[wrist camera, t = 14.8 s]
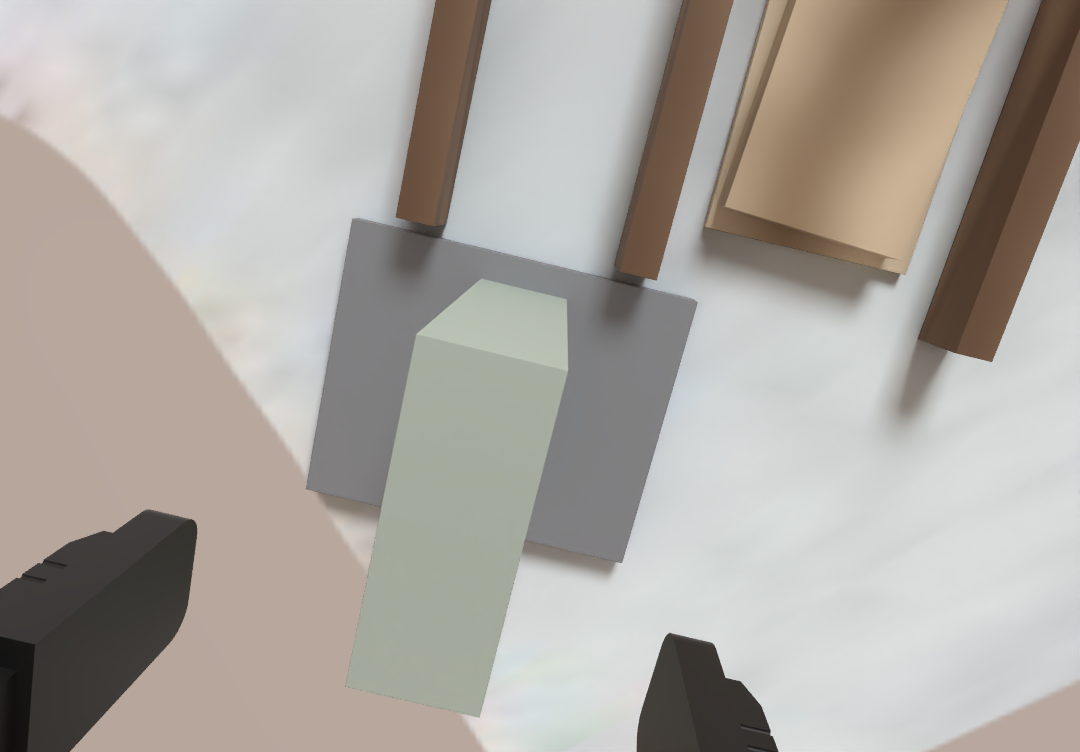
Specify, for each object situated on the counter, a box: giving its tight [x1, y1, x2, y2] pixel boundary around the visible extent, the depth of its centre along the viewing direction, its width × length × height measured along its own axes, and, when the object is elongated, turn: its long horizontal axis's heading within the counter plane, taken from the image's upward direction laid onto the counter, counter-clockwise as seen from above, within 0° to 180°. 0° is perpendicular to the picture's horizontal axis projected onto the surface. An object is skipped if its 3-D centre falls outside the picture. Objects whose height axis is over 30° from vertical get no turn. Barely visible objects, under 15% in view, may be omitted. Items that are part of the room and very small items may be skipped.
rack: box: [396, 0, 1080, 362], centre depth 22 cm, size 19×13×2 cm
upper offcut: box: [717, 0, 1009, 261], centre depth 23 cm, size 6×8×1 cm
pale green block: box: [345, 279, 568, 718], centre depth 20 cm, size 3×8×11 cm, turn 166°
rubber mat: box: [306, 218, 698, 563], centre depth 26 cm, size 12×10×1 cm
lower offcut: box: [704, 0, 962, 275], centre depth 24 cm, size 7×9×1 cm
